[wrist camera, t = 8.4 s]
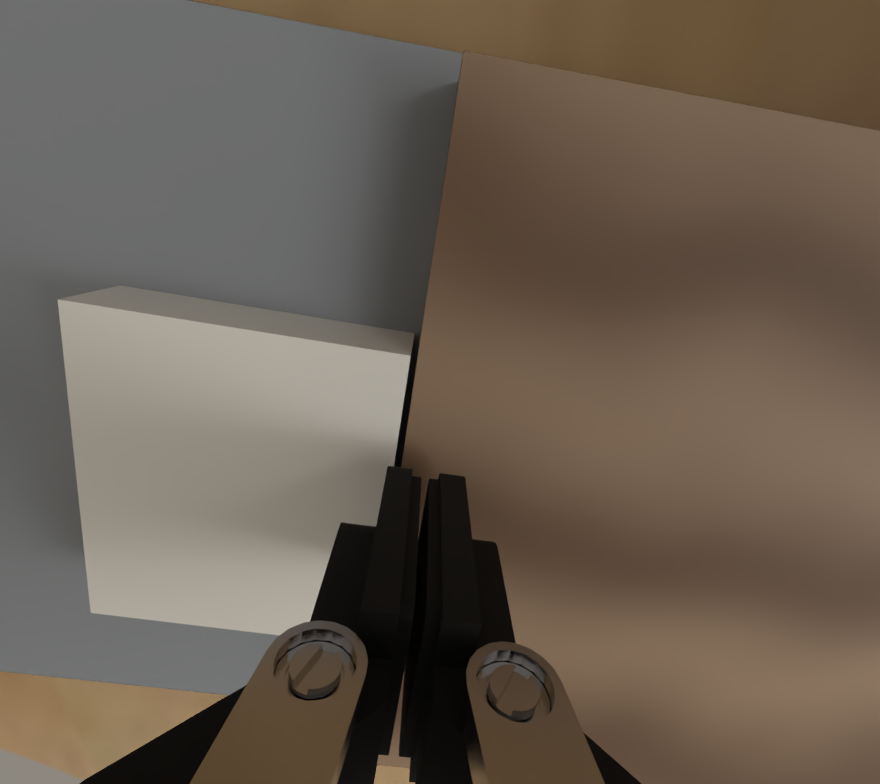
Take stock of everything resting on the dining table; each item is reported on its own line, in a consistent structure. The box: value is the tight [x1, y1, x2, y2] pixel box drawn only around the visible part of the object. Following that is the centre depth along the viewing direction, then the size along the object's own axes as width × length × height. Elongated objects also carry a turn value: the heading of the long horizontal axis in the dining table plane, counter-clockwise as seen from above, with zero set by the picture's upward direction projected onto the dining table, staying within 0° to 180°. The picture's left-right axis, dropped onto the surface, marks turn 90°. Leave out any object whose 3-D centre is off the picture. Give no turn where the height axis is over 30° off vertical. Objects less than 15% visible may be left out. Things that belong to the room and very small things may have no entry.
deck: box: [377, 50, 880, 784], centre depth 13 cm, size 18×16×2 cm
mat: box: [0, 0, 463, 695], centre depth 13 cm, size 19×18×1 cm
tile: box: [58, 285, 415, 635], centre depth 12 cm, size 8×7×2 cm
